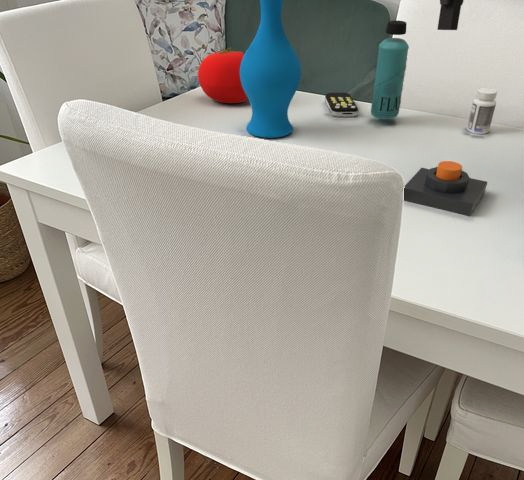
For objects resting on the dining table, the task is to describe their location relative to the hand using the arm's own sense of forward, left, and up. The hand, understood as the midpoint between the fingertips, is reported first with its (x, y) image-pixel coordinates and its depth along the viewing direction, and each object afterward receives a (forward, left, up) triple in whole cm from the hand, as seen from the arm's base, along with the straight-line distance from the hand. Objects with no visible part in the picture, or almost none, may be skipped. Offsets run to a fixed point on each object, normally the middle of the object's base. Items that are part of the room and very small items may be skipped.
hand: (447, 29), depth 90 cm
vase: (+36, -7, -25) cm, 44 cm away
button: (-6, +5, -21) cm, 23 cm away
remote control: (+29, -29, -25) cm, 48 cm away
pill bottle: (-3, -31, -25) cm, 40 cm away
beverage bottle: (+17, -26, -25) cm, 40 cm away
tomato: (+55, -20, -25) cm, 63 cm away
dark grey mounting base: (-6, +5, -25) cm, 26 cm away
